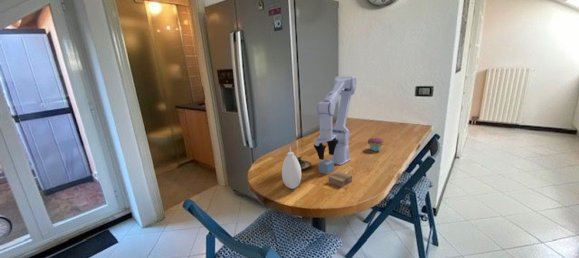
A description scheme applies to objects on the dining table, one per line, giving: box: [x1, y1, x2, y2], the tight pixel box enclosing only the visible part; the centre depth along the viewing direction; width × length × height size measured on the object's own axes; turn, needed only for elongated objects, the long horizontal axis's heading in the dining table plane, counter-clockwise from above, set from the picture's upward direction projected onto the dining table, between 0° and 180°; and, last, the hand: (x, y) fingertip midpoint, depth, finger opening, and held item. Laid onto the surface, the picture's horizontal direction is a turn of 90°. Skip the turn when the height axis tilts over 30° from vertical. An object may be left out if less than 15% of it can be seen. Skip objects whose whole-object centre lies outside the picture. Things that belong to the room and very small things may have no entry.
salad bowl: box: [294, 152, 312, 171], centre depth 124 cm, size 12×12×8 cm
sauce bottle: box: [281, 146, 302, 190], centre depth 102 cm, size 8×8×18 cm
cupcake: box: [367, 129, 385, 152], centre depth 143 cm, size 9×8×12 cm
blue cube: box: [318, 158, 335, 175], centre depth 117 cm, size 5×5×5 cm
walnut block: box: [328, 171, 353, 188], centre depth 107 cm, size 7×7×3 cm
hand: (326, 156), depth 116 cm, fingers open, 7 cm apart
